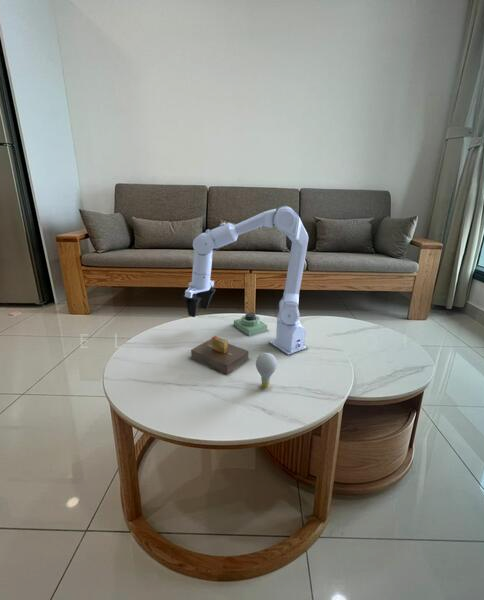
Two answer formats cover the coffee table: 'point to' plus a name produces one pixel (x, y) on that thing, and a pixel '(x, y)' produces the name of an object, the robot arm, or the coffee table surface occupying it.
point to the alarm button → (250, 316)
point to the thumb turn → (219, 344)
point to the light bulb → (266, 367)
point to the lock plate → (219, 357)
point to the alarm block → (250, 325)
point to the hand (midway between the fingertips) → (198, 312)
